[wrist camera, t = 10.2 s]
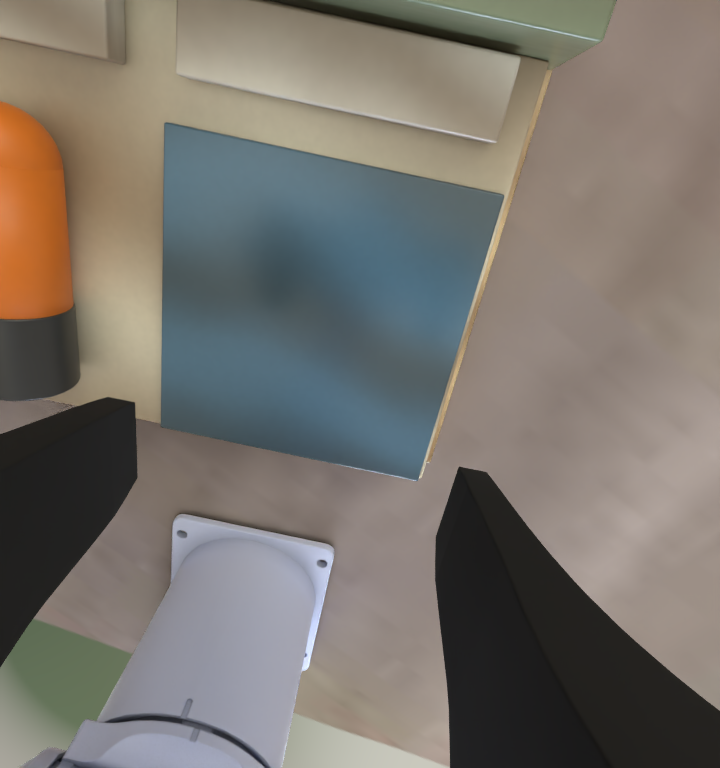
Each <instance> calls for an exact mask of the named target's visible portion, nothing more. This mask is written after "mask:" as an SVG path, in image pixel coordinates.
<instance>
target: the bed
mask: <svg viewBox="0 0 720 768" xmlns="http://www.w3.org/2000/svg"><path fill="white" fill-rule="evenodd" d="M616 1H617V0H0V101H2V102H5V103H8V104H11V105H13V106H15V107H17V108H20V109H21V110H23V111H24V112H26V113H28V114H29V115H31V116H32V117H33V118H34V119H36V120H37V121H38V122H39V123H40V124H41V125H42V126H43V127H44V128H45V129H46V130H47V132H48V133H49V134H50V135H51V137H52V138H53V140H54V142H55V143H56V145H57V147H58V150H59V152H60V155H61V158H62V163H63V170H64V183H65V196H66V209H67V223H68V236H69V249H70V262H71V276H72V289H73V301H74V303H75V306H76V319H77V333H78V346H79V360H80V374H81V376H80V380H79V382H78V383H77V385H75V386H74V387H73V388H72V389H70V390H68V391H66V392H64V393H62V394H59V395H56V396H53V397H49V398H44V399H46V400H51V401H56V402H61V403H65V404H70V405H75V406H80V405H83V404H86V403H89V402H92V401H95V400H98V399H102V398H106V397H111V398H116V399H121V400H126V401H131V402H135V413H136V419H141V420H146V421H151V422H155V423H160V424H161V427H162V428H167V429H172V430H177V431H181V432H186V433H191V434H196V435H200V436H205V437H210V438H215V439H219V440H224V441H229V442H234V443H238V444H243V445H248V446H253V447H257V448H262V449H267V450H272V451H276V452H281V453H286V454H291V455H295V456H300V457H305V458H309V459H314V460H319V461H324V462H328V463H333V464H338V465H343V466H347V467H352V468H357V469H362V470H366V471H371V472H376V473H381V474H385V475H390V476H395V477H400V478H404V479H409V480H414V481H418V479H419V478H421V477H422V475H423V471H424V468H425V465H426V462H427V463H430V462H431V458H432V455H433V452H434V449H435V445H436V442H437V439H438V436H439V433H440V429H441V426H442V423H443V420H444V417H445V413H446V410H447V407H448V404H449V401H450V397H451V394H452V391H453V388H454V385H455V381H456V378H457V375H458V372H459V368H460V365H461V362H462V359H463V356H464V352H465V349H466V346H467V343H468V340H469V336H470V333H471V330H472V327H473V324H474V320H475V317H476V314H477V311H478V308H479V304H480V301H481V298H482V295H483V292H484V288H485V285H486V282H487V279H488V275H489V272H490V269H491V266H492V263H493V259H494V256H495V253H496V250H497V247H498V243H499V240H500V237H501V234H502V231H503V227H504V224H505V221H506V218H507V215H508V211H509V208H510V205H511V202H512V198H513V195H514V192H515V189H516V186H517V182H518V179H519V176H520V173H521V170H522V166H523V163H524V160H525V157H526V154H527V150H528V147H529V144H530V141H531V138H532V134H533V131H534V128H535V125H536V122H537V118H538V115H539V112H540V109H541V105H542V102H543V99H544V96H545V93H546V89H547V86H548V83H549V80H550V77H551V73H552V70H553V69H554V68H556V67H558V66H559V65H561V64H563V63H565V62H566V61H568V60H570V59H572V58H574V57H575V56H577V55H579V54H581V53H582V52H584V51H586V50H588V49H590V48H591V47H593V46H595V45H597V44H598V43H600V42H602V40H603V39H604V36H605V33H606V30H607V27H608V24H609V21H610V19H611V16H612V13H613V10H614V7H615V4H616Z"/></svg>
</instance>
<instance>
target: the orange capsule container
mask: <svg viewBox="0 0 720 768" xmlns="http://www.w3.org/2000/svg"><path fill="white" fill-rule="evenodd" d="M80 376H81V374H80V360H79V346H78V333H77V319H76V306H75V303H74V301H73V289H72V276H71V262H70V249H69V236H68V223H67V209H66V196H65V183H64V170H63V163H62V158H61V155H60V152H59V150H58V147H57V145H56V143H55V142H54V140H53V138H52V137H51V135H50V134H49V133H48V132H47V130H46V129H45V128H44V127H43V126H42V125H41V124H40V123H39V122H38V121H37V120H36V119H34V118H33V117H32V116H31V115H29V114H28V113H26V112H24V111H23V110H21V109H20V108H17V107H15V106H13V105H11V104H8V103H5V102H2V101H0V400H4V401H30V400H38V399H44V398H49V397H53V396H56V395H59V394H62V393H64V392H66V391H68V390H70V389H72V388H73V387H74V386H75V385H77V383H78V382H79V380H80Z"/></svg>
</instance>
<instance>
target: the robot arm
mask: <svg viewBox="0 0 720 768" xmlns="http://www.w3.org/2000/svg"><path fill="white" fill-rule="evenodd" d="M136 479H137V445H136V413H135V402H131V401H126V400H121V399H116V398H111V397H106V398H102V399H98V400H95V401H92V402H89V403H86V404H83V405H80V406H77V407H74V408H72V409H69V410H66V411H63V412H61V413H58V414H55V415H53V416H50V417H47V418H44V419H42V420H39V421H36V422H33V423H31V424H28V425H25V426H22V427H20V428H17V429H14V430H11V431H9V432H6V433H3V434H0V667H1V665H2V664H3V662H4V661H5V659H6V658H7V656H8V655H9V653H10V652H11V650H12V649H13V647H14V646H15V644H16V643H17V641H18V640H19V638H20V637H21V635H22V634H23V632H24V631H25V629H26V628H27V626H28V625H29V623H30V622H31V621H32V619H33V618H34V617H35V615H36V614H37V613H38V611H39V610H40V609H41V607H42V606H43V605H44V603H45V602H46V601H47V599H48V598H49V597H50V596H51V595H52V593H53V592H54V591H55V590H56V588H57V587H58V586H59V585H60V583H61V582H62V581H63V580H64V578H65V577H66V576H67V575H68V574H69V572H70V571H71V570H72V569H73V567H74V566H75V565H76V564H77V562H78V561H79V560H80V559H81V557H82V556H83V555H84V554H85V553H86V551H87V550H88V549H89V548H90V546H91V545H92V544H93V543H94V541H95V540H96V539H97V538H98V536H99V535H100V534H101V533H102V531H103V530H104V529H105V527H106V526H107V525H108V524H109V522H110V521H111V520H112V518H113V517H114V516H115V514H116V513H117V511H118V509H119V508H120V506H121V505H122V503H123V501H124V500H125V498H126V497H127V495H128V493H129V491H130V490H131V488H132V486H133V484H134V483H135V481H136ZM181 530H182V531H185V532H186V533H184V532H182V531H181ZM333 558H334V549H333V547H332V546H330V545H328V544H325V543H321V542H316V541H311V540H306V539H302V538H297V537H292V536H287V535H283V534H278V533H273V532H268V531H263V530H259V529H254V528H249V527H244V526H240V525H235V524H230V523H225V522H221V521H216V520H211V519H206V518H202V517H197V516H192V515H187V514H180V515H178V516H177V517H176V518H175V519H174V521H173V526H172V562H171V585H170V587H169V588H168V590H167V592H166V594H165V596H164V598H163V600H162V601H161V603H160V605H159V607H158V609H157V611H156V612H155V614H154V616H153V618H152V620H151V622H150V623H149V625H148V627H147V629H146V631H145V633H144V634H143V636H142V638H141V640H140V642H139V644H138V645H137V647H136V649H135V651H134V653H133V655H132V657H131V658H130V660H129V662H128V664H127V666H126V668H125V669H124V671H123V673H122V675H121V677H120V679H119V680H118V682H117V684H116V686H115V688H114V690H113V691H112V693H111V695H110V697H109V699H108V701H107V702H106V704H105V706H104V708H103V710H102V712H101V714H100V715H99V717H98V719H97V721H93V720H89V719H86V720H84V721H83V723H82V725H81V726H80V728H79V730H78V732H77V733H76V735H75V737H74V739H73V740H72V742H71V744H70V746H69V747H68V749H67V751H65V750H62V749H58V748H53V747H52V748H47V749H45V750H43V751H42V752H40V753H39V754H38V755H37V756H36V757H34V758H32V759H31V760H29V761H27V762H26V763H24V764H22V765H21V766H19V767H18V768H282V766H283V761H284V756H285V750H286V745H287V741H288V736H289V730H290V726H291V721H292V716H293V711H294V706H295V701H296V696H297V691H298V686H299V681H300V676H301V671H305V670H306V669H308V667H309V663H310V659H311V654H312V650H313V646H314V641H315V637H316V633H317V628H318V624H319V619H320V615H321V611H322V606H323V602H324V598H325V593H326V589H327V584H328V580H329V576H330V571H331V567H332V563H333ZM320 560H324V561H325V562H322V561H320ZM435 581H436V591H437V600H438V609H439V618H440V627H441V635H442V644H443V653H444V661H445V670H446V678H447V689H448V702H449V733H450V768H720V711H719V710H718V709H717V708H715V707H714V706H713V705H711V704H710V703H709V702H707V701H706V700H705V699H703V698H702V697H701V696H700V695H698V694H697V693H696V692H695V691H693V690H692V689H691V688H690V687H689V686H687V685H686V684H685V683H684V682H682V681H681V680H680V679H679V678H677V677H676V676H675V675H674V674H673V673H671V672H670V671H669V670H668V669H667V668H666V667H664V666H663V665H662V664H661V663H660V662H659V661H657V660H656V659H655V658H654V657H653V656H652V655H650V654H649V653H648V652H647V651H646V650H645V649H644V648H642V647H641V646H640V645H639V644H638V643H637V642H636V641H634V640H633V639H632V638H631V637H630V636H629V635H628V634H627V633H626V632H625V631H623V630H622V629H621V628H620V627H619V626H618V625H617V624H616V623H615V622H614V621H613V620H612V619H611V618H610V617H609V616H608V615H607V614H606V613H605V612H604V611H603V610H602V609H601V608H600V607H599V606H598V605H597V604H596V603H595V602H594V601H593V600H592V599H591V598H590V597H589V596H588V595H587V594H586V593H585V592H584V591H583V590H582V589H581V588H580V587H579V586H578V585H577V584H576V583H575V582H574V581H573V579H572V578H571V577H570V576H569V575H568V574H567V573H566V571H565V570H564V569H563V568H562V567H561V566H560V565H559V564H558V562H557V561H556V560H555V559H554V558H553V557H552V556H551V554H550V553H549V552H548V551H547V550H546V548H545V547H544V546H543V545H542V544H541V542H540V541H539V540H538V539H537V537H536V536H535V535H534V534H533V532H532V531H531V530H530V529H529V527H528V526H527V525H526V524H525V522H524V521H523V520H522V518H521V517H520V516H519V515H518V513H517V512H516V511H515V509H514V508H513V507H512V505H511V504H510V503H509V501H508V500H507V499H506V497H505V496H504V495H503V493H502V492H501V490H500V489H499V488H498V486H497V485H496V484H495V482H494V481H493V480H492V479H491V477H490V476H489V475H488V474H487V472H483V471H478V470H473V469H468V468H463V467H459V468H458V471H457V474H456V477H455V480H454V483H453V486H452V489H451V492H450V496H449V499H448V502H447V505H446V508H445V511H444V514H443V517H442V520H441V523H440V526H439V529H438V532H437V535H436V556H435Z"/></svg>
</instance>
